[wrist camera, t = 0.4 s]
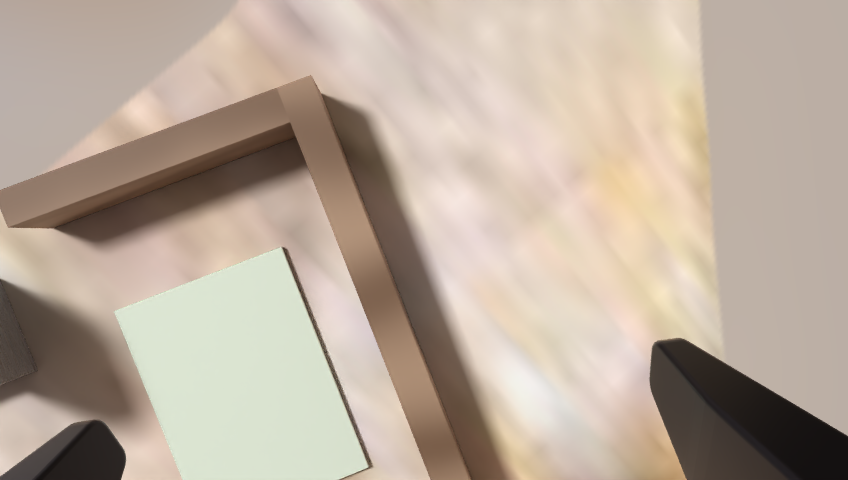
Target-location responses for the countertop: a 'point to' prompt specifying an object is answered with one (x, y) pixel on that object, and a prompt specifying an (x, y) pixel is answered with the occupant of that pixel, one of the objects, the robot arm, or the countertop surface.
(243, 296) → the mat
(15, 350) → the bracket
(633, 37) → the countertop surface
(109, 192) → the brown chevron piece
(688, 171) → the countertop surface
